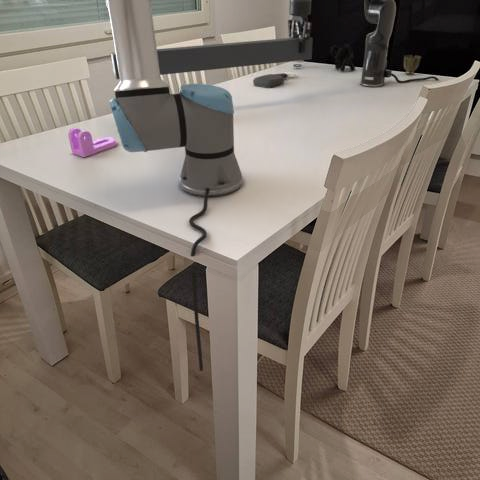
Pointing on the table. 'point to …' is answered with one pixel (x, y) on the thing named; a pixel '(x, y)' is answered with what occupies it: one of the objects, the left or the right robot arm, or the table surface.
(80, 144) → the bracket
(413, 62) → the cup
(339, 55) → the black irregular legged piece
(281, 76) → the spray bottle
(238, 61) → the bar
